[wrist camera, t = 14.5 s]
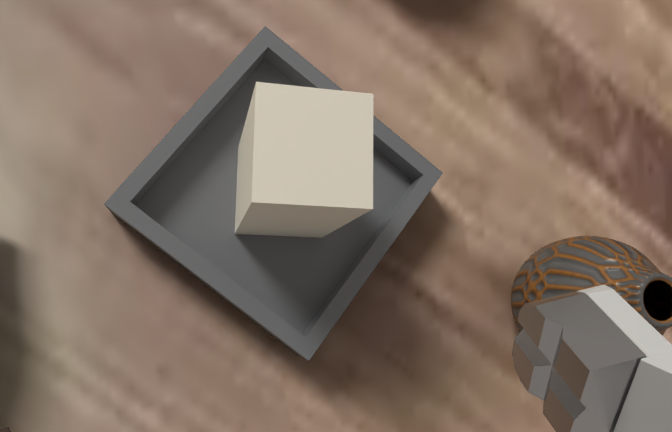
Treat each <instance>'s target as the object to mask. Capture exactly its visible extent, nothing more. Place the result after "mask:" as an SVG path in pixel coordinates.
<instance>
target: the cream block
mask: <svg viewBox="0 0 672 432" xmlns="http://www.w3.org/2000/svg"><path fill="white" fill-rule="evenodd" d="M372 209H373V94H369V93H360V92H350V91H340V90H331V89H321V88H312V87H302V86H293V85H283V84H273V83H264V82H256V84H255V87H254V91H253V95H252V99H251V102H250V106H249V110H248V113H247V117H246V121H245V125H244V128H243V132H242V136H241V139H240V143H239V147H238V166H237V189H236V213H235V234H247V235H270V236H293V237H316V238H322V237H324V236H326V235H328V234H329V233H331V232H333V231H335V230H336V229H338V228H340V227H342V226H344V225H345V224H347V223H349V222H351V221H353V220H354V219H356V218H358V217H360V216H361V215H363V214H365V213H367V212H369V211H370V210H372Z"/></svg>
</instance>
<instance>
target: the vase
mask: <svg viewBox="0 0 672 432" xmlns="http://www.w3.org/2000/svg"><path fill="white" fill-rule="evenodd" d="M600 285H606V286H608V287H610V288H612V289H613V290H615V291H616V292H617V293H618V294H619V295H620V296H621V297H622V298H623V299H624V300H625V301H626V302H627V303H628V304H629V305H630V306H631V307H632V308H634V309H635V310H636V311H637V312H638V313H639V314H640V315H641V316H642V317H643V318H644V319H645V320H646V321H647V322H648V323H649V324H650V325H651V326H653V327H654V328H655V329H656V330H657V331H658V332H659V333H660V334H661V335H662V336H663V334H664V333H665V331H666V329H667V328H669V327H671V326H672V278H671V277H669V276H668V275H666V274H664V273H661V272H660V271H659V270H658V268H657V267H656V266H655V265H654V264H653V263H652V262H651V261H650V260H649V259H648V258H647V257H646V256H645V255H644V254H642V253H641V252H639V251H638V250H636V249H635V248H633V247H631V246H629V245H627V244H625V243H622V242H619V241H616V240H613V239H609V238H604V237H597V236H578V237H571V238H566V239H562V240H559V241H556V242H553V243H550V244H548V245H546V246H544V247H543V248H541V249H540V250H538V251H537V252H535V253H534V254H533V255H532V256H531V257H529V258H528V259H527V260H526V262H525V263H524V264H523V265H522V267H521V268H520V270H519V271H518V273H517V275H516V277H515V280H514V283H513V287H512V293H511V306H512V312H513V316H514V319H515V322H516V324H517V326H518V328H519V330H520V332H521V331H522V329H523V327H522V326H521V324H520V323H519V322H518V317H519V312H520V309H521V308H522V307H523V305H524V304H525V303H530V302H534V301H538V300H542V299H546V298H550V297H554V296H558V295H562V294H566V293H570V292H577V291H579V290H583V289H588V288H592V287H596V286H600Z"/></svg>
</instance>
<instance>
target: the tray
mask: <svg viewBox="0 0 672 432" xmlns="http://www.w3.org/2000/svg"><path fill="white" fill-rule="evenodd" d="M256 82H264V83H273V84H283V85H293V86H302V87H312V88H321V89H331V90H340V91H343V90H342V89H341V88H340V87H338V86H337V85H336V84H335V83H333V82H332V81H331V80H330V79H329V78H327V77H326V76H325V75H324V74H323V73H321V72H320V71H319V70H318V69H317V68H315V67H314V66H313V65H312V64H310V63H309V62H308V61H307V60H306V59H304V58H303V57H302V56H301V55H300V54H298V53H297V52H296V51H295V50H294V49H292V48H291V47H290V46H289V45H287V44H286V43H285V42H284V41H283V40H281V39H280V38H279V37H278V36H277V35H275V34H274V33H273V32H272V31H271V30H269V29H268V28H267V27H266V26H265V27H264V28H263V29H262V30H261V31H260V32H259V33H258V35H257V36H256V37H255V38H254V39H253V40H252V41H251V42H250V43H249V44H248V46H247V47H246V48H245V49H244V50H243V51H242V52H241V53H240V54H239V56H238V57H237V58H236V59H235V60H234V61H233V62H232V63H231V64H230V65H229V67H228V68H227V69H226V70H225V71H224V72H223V73H222V74H221V75H220V76H219V78H218V79H217V80H216V81H215V82H214V83H213V84H212V85H211V86H210V88H209V89H208V90H207V91H206V92H205V93H204V94H203V95H202V96H201V97H200V99H199V100H198V101H197V102H196V103H195V104H194V105H193V106H192V107H191V108H190V110H189V111H188V112H187V113H186V114H185V115H184V116H183V117H182V118H181V120H180V121H179V122H178V123H177V124H176V125H175V126H174V127H173V128H172V129H171V131H170V132H169V133H168V134H167V135H166V136H165V137H164V138H163V139H162V141H161V142H160V143H159V144H158V145H157V146H156V147H155V148H154V149H153V150H152V152H151V153H150V154H149V155H148V156H147V157H146V158H145V159H144V160H143V161H142V163H141V164H140V165H139V166H138V167H137V168H136V169H135V170H134V171H133V173H132V174H131V175H130V176H129V177H128V178H127V179H126V180H125V181H124V182H123V184H122V185H121V186H120V187H119V188H118V189H117V190H116V191H115V192H114V193H113V195H112V196H111V197H110V198H109V199H108V200H107V201H106V202H105V203H104V205H105V206H106V207H107V208H108V209H109V210H110V212H111V213H112V214H114V215H115V216H116V217H118V218H119V219H120V220H122V221H123V222H124V223H126V224H127V225H128V226H129V227H131V228H132V229H133V230H135V231H136V232H137V233H139V234H140V235H141V236H143V237H144V238H145V239H146V240H148V241H149V242H150V243H152V244H153V245H154V246H156V247H157V248H158V249H160V250H161V251H162V252H163V253H165V254H166V255H167V256H169V257H170V258H171V259H173V260H174V261H175V262H177V263H178V264H179V265H180V266H182V267H183V268H184V269H186V270H187V271H188V272H190V273H191V274H192V275H194V276H195V277H196V278H197V279H199V280H200V281H201V282H203V283H204V284H205V285H207V286H208V287H209V288H211V289H212V290H213V291H214V292H216V293H217V294H218V295H220V296H221V297H222V298H224V299H225V300H226V301H228V302H229V303H230V304H231V305H233V306H234V307H235V308H237V309H238V310H239V311H241V312H242V313H243V314H245V315H246V316H247V317H248V318H250V319H251V320H252V321H254V322H255V323H256V324H258V325H259V326H260V327H262V328H263V329H264V330H265V331H267V332H268V333H269V334H271V335H272V336H273V337H275V338H276V339H277V340H279V341H280V342H281V343H282V344H284V345H285V346H286V347H288V348H289V349H290V350H292V351H293V352H294V353H296V354H297V355H298V356H299V357H301V358H304V359H306V360H308V361H309V360H310V359H311V357H312V356H313V355H314V353H315V352H316V350H317V349H318V348H319V346H320V345H321V343H322V342H323V340H324V339H325V338H326V336H327V335H328V333H329V332H330V331H331V329H332V328H333V326H334V325H335V324H336V322H337V321H338V319H339V318H340V317H341V315H342V314H343V312H344V311H345V310H346V308H347V307H348V305H349V304H350V303H351V301H352V300H353V298H354V297H355V296H356V294H357V293H358V291H359V290H360V289H361V287H362V286H363V284H364V283H365V281H366V280H367V279H368V277H369V276H370V274H371V273H372V272H373V270H374V269H375V267H376V266H377V265H378V263H379V262H380V260H381V259H382V258H383V256H384V255H385V253H386V252H387V251H388V249H389V248H390V246H391V245H392V244H393V242H394V241H395V239H396V238H397V237H398V235H399V234H400V232H401V231H402V230H403V228H404V227H405V225H406V224H407V222H408V221H409V220H410V218H411V217H412V215H413V214H414V213H415V211H416V210H417V208H418V207H419V206H420V204H421V203H422V201H423V200H424V199H425V197H426V196H427V194H428V193H429V192H430V190H431V189H432V187H433V186H434V185H435V183H436V182H437V180H438V179H439V178H440V176H441V175H442V172H441V171H440V170H439V169H438V168H436V167H435V166H434V165H433V164H432V163H430V162H429V161H428V160H427V159H426V158H424V157H423V156H422V155H421V154H419V153H418V152H417V151H416V150H415V149H413V148H412V147H411V146H410V145H409V144H407V143H406V142H405V141H404V140H403V139H401V138H400V137H399V136H398V135H396V134H395V133H394V132H393V131H392V130H390V129H389V128H388V127H387V126H386V125H384V124H383V123H382V122H381V121H380V120H378V119H377V118H376V117H375V116H373V209H372V210H370V211H369V212H367V213H365V214H363V215H361V216H360V217H358V218H356V219H354V220H353V221H351V222H349V223H347V224H345V225H344V226H342V227H340V228H338V229H336V230H335V231H333V232H331V233H329V234H328V235H326V236H324V237H322V238H316V237H293V236H270V235H247V234H235V213H236V189H237V166H238V147H239V143H240V139H241V136H242V132H243V128H244V125H245V121H246V117H247V113H248V110H249V106H250V102H251V99H252V95H253V91H254V87H255V84H256Z"/></svg>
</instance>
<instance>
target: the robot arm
mask: <svg viewBox="0 0 672 432" xmlns="http://www.w3.org/2000/svg"><path fill="white" fill-rule="evenodd" d="M518 322H519V323H520V324H521V326H522V327H523V329H522V331H521V332H520V333H519V334H518V335H517V336H516V338H515V339H514V343H513V350H512V356H513V361H514V366H515V370H516V372H517V374H518V376H519V379H520V381H521V382H522V384H523V385H524V387H525V388H526V390H527V391H528V392H529V393H531V394H533V395H535V396H537V397H538V398H540V399H542V400H544V402H543V414H544V415H545V417H546V418H547V420H548V421H549V422H550V424H551V425H552V427H553V428H554V430H555V431H556V432H672V345H671V344H670V343H669V342H668V341H667V340H666V339H665V338H664V337H663V336H662V335H661V334H660V333H659V332H658V331H657V330H656V329H655V328H654V327H653V326H651V325H650V324H649V323H648V322H647V321H646V320H645V319H644V318H643V317H642V316H641V315H640V314H639V313H638V312H637V311H636V310H635V309H634V308H632V307H631V306H630V305H629V304H628V303H627V302H626V301H625V300H624V299H623V298H622V297H621V296H620V295H619V294H618V293H617V292H616V291H615V290H613V289H612V288H610V287H608V286H606V285H600V286H596V287H592V288H588V289H583V290H579V291H577V292H570V293H566V294H562V295H558V296H554V297H550V298H546V299H542V300H538V301H534V302H530V303H525V304H524V305H523V307H522V308H521V309H520V312H519V317H518ZM0 432H11V430H10V429H9V427H8V428H0Z"/></svg>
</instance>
